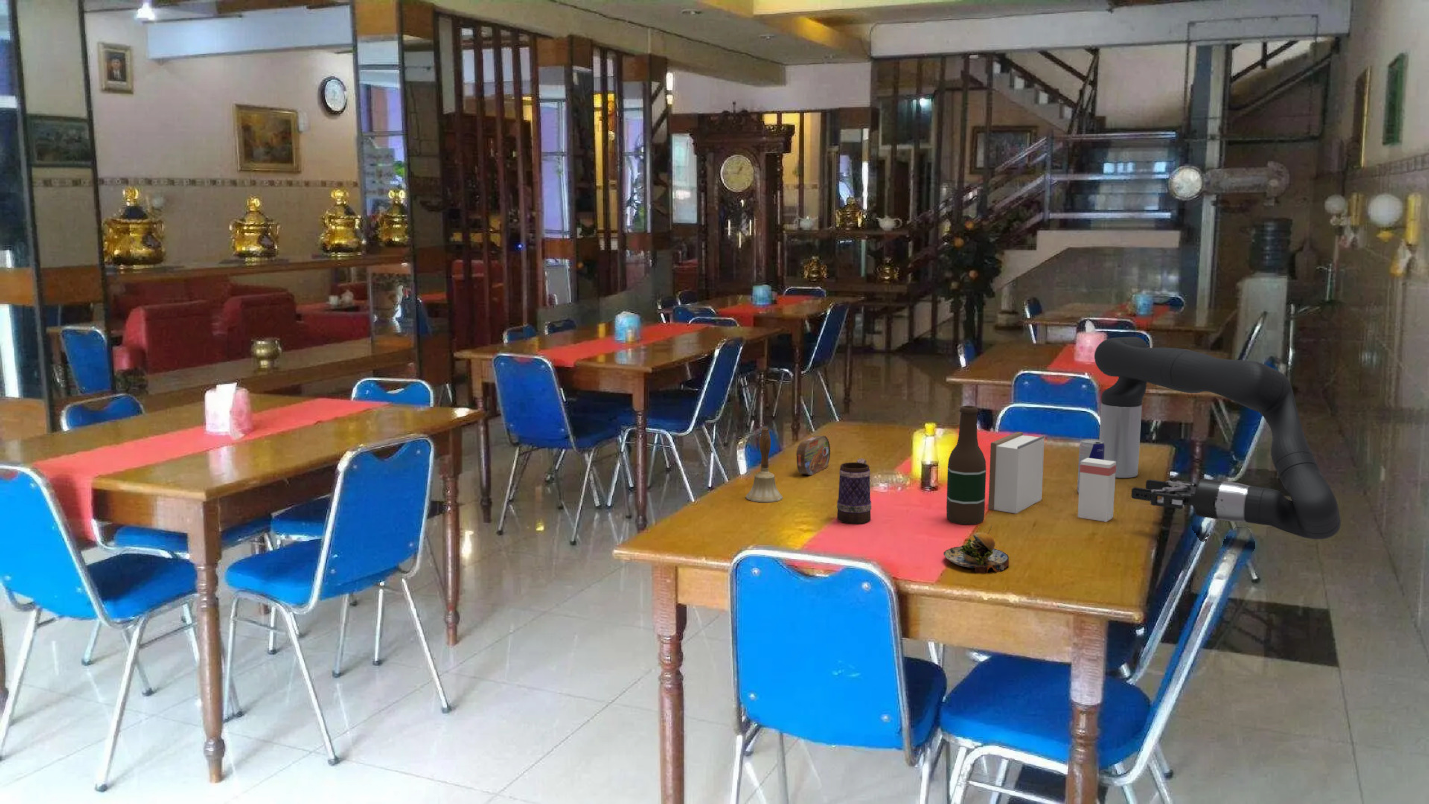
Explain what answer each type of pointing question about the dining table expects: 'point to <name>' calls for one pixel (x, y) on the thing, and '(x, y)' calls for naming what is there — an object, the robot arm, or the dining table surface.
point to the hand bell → (764, 475)
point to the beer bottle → (966, 473)
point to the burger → (979, 554)
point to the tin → (813, 455)
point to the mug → (854, 493)
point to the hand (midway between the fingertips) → (1139, 488)
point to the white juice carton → (1096, 489)
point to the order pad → (1015, 472)
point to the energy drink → (1090, 452)
